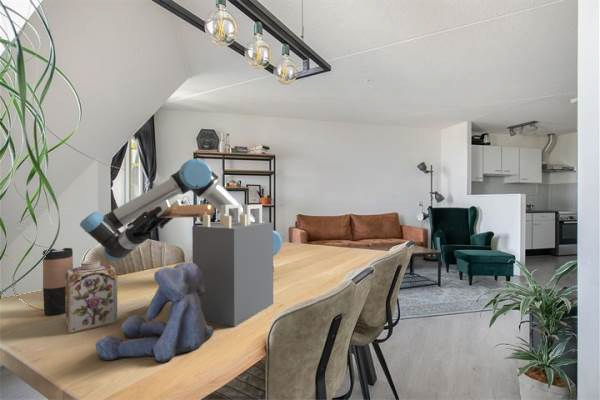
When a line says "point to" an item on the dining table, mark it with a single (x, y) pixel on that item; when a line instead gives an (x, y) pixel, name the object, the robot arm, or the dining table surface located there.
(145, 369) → the dining table surface
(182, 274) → the elephant
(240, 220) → the grey pedestal with pegs
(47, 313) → the travel mug
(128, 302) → the dining table surface
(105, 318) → the decorative jar
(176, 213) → the copper tube
